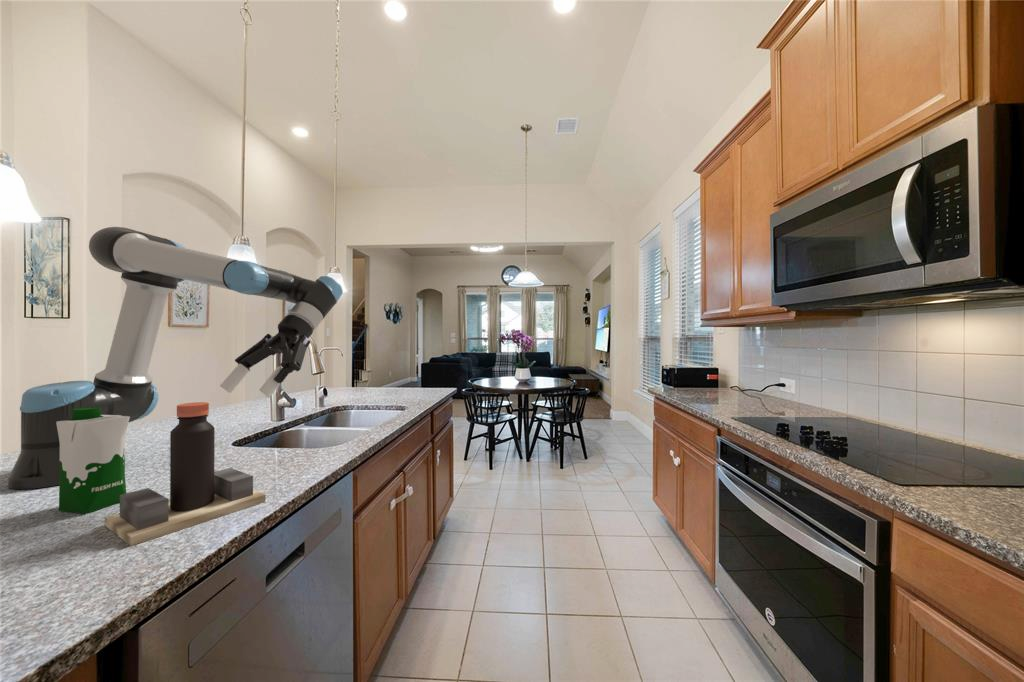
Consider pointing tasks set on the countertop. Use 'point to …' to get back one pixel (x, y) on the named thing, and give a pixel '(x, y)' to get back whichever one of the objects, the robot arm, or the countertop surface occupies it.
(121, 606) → the countertop surface
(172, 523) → the end cap board
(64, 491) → the milk carton
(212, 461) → the vinegar
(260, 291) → the robot arm
